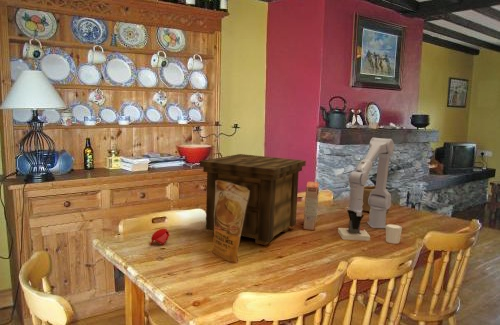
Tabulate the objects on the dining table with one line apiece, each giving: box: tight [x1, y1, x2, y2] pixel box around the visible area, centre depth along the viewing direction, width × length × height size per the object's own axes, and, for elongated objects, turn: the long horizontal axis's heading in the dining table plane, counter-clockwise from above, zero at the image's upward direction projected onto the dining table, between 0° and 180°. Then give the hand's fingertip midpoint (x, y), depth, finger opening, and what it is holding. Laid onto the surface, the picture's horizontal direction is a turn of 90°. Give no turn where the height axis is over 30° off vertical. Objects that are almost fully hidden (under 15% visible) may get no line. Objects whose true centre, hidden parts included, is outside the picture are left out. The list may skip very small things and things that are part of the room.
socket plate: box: [337, 227, 371, 242], centre depth 182 cm, size 11×12×3 cm
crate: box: [199, 153, 307, 246], centre depth 181 cm, size 35×35×33 cm
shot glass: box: [385, 223, 403, 245], centre depth 176 cm, size 7×7×7 cm
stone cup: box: [362, 185, 390, 214], centre depth 226 cm, size 15×12×15 cm
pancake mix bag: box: [212, 180, 250, 264], centre depth 150 cm, size 7×19×28 cm, turn 38°
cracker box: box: [302, 181, 320, 231], centre depth 194 cm, size 14×6×21 cm, turn 168°
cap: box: [150, 228, 170, 246], centre depth 163 cm, size 8×6×6 cm
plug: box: [348, 219, 361, 233], centre depth 181 cm, size 4×4×5 cm
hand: (354, 227), depth 181 cm, fingers closed on plug, 4 cm apart
